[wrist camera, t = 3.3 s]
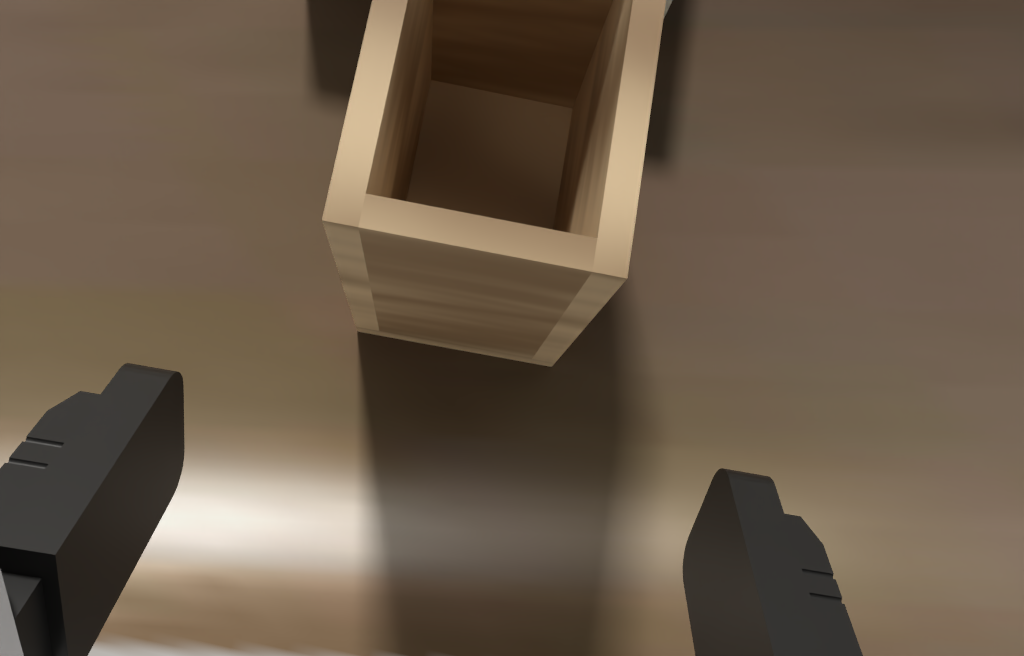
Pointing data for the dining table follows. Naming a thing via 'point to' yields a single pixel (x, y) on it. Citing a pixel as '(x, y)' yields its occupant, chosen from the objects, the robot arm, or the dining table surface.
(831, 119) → the dining table surface
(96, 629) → the robot arm
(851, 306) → the dining table surface
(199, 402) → the dining table surface
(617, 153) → the oak crate
